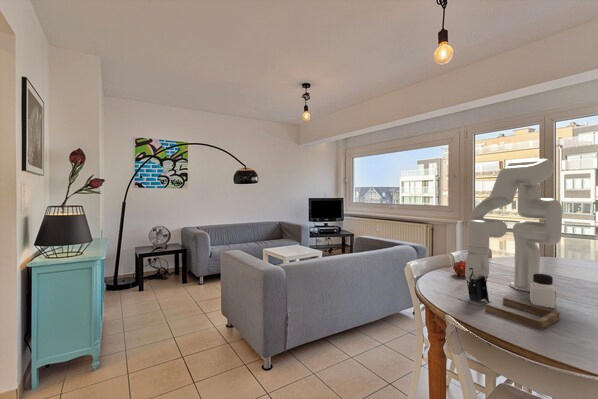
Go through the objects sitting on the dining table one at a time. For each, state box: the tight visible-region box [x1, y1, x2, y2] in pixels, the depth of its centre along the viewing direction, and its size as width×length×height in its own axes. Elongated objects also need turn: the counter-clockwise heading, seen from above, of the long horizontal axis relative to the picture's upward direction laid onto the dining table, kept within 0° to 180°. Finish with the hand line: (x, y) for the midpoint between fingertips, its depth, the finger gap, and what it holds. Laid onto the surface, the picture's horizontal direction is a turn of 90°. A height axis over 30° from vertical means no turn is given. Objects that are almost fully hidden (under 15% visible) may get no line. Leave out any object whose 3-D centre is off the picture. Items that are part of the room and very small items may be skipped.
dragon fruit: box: [452, 260, 466, 277], centre depth 158 cm, size 8×8×12 cm
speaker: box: [466, 276, 490, 304], centre depth 122 cm, size 8×6×10 cm
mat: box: [457, 294, 492, 307], centre depth 123 cm, size 9×9×1 cm
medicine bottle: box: [529, 272, 557, 309], centre depth 119 cm, size 7×7×12 cm
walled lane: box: [484, 296, 561, 330], centre depth 108 cm, size 15×18×2 cm
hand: (477, 292), depth 122 cm, fingers closed on speaker, 6 cm apart
